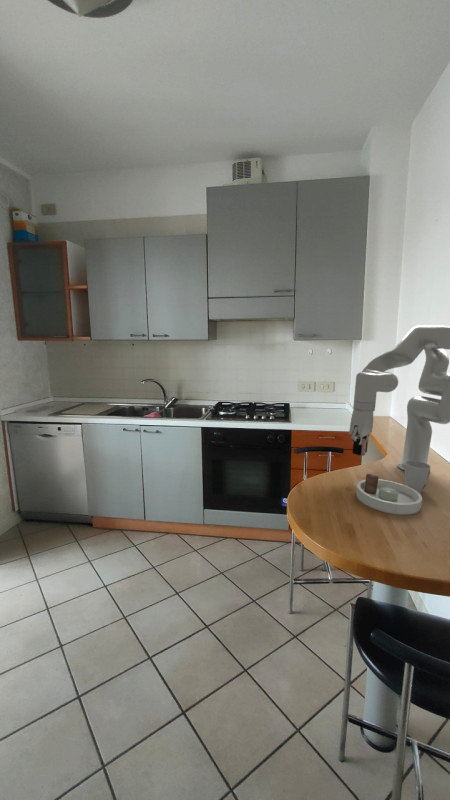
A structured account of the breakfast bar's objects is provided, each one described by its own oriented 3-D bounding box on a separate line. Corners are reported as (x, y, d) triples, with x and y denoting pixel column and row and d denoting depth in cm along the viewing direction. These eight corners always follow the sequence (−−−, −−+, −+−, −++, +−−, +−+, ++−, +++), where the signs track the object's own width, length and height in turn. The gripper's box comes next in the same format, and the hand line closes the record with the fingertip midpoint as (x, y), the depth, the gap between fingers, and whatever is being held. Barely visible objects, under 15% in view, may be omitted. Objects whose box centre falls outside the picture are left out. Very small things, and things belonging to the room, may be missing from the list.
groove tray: (371, 483, 136) (372, 474, 136) (428, 502, 122) (430, 492, 122) (346, 498, 123) (347, 488, 122) (407, 521, 109) (409, 510, 108)
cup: (429, 496, 128) (434, 469, 126) (405, 493, 129) (409, 466, 127) (422, 487, 135) (426, 461, 134) (399, 484, 137) (402, 459, 135)
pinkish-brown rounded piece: (356, 451, 139) (358, 436, 138) (366, 454, 136) (368, 438, 135) (352, 453, 136) (353, 438, 135) (362, 456, 133) (363, 441, 132)
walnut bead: (367, 488, 129) (369, 472, 128) (378, 492, 126) (380, 476, 125) (362, 491, 126) (364, 475, 125) (373, 495, 124) (375, 478, 123)
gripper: (364, 401, 141) (360, 446, 144) (343, 407, 129) (339, 455, 133) (383, 404, 136) (378, 450, 139) (363, 410, 124) (359, 460, 128)
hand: (359, 452), depth 136 cm, fingers closed on pinkish-brown rounded piece, 4 cm apart
